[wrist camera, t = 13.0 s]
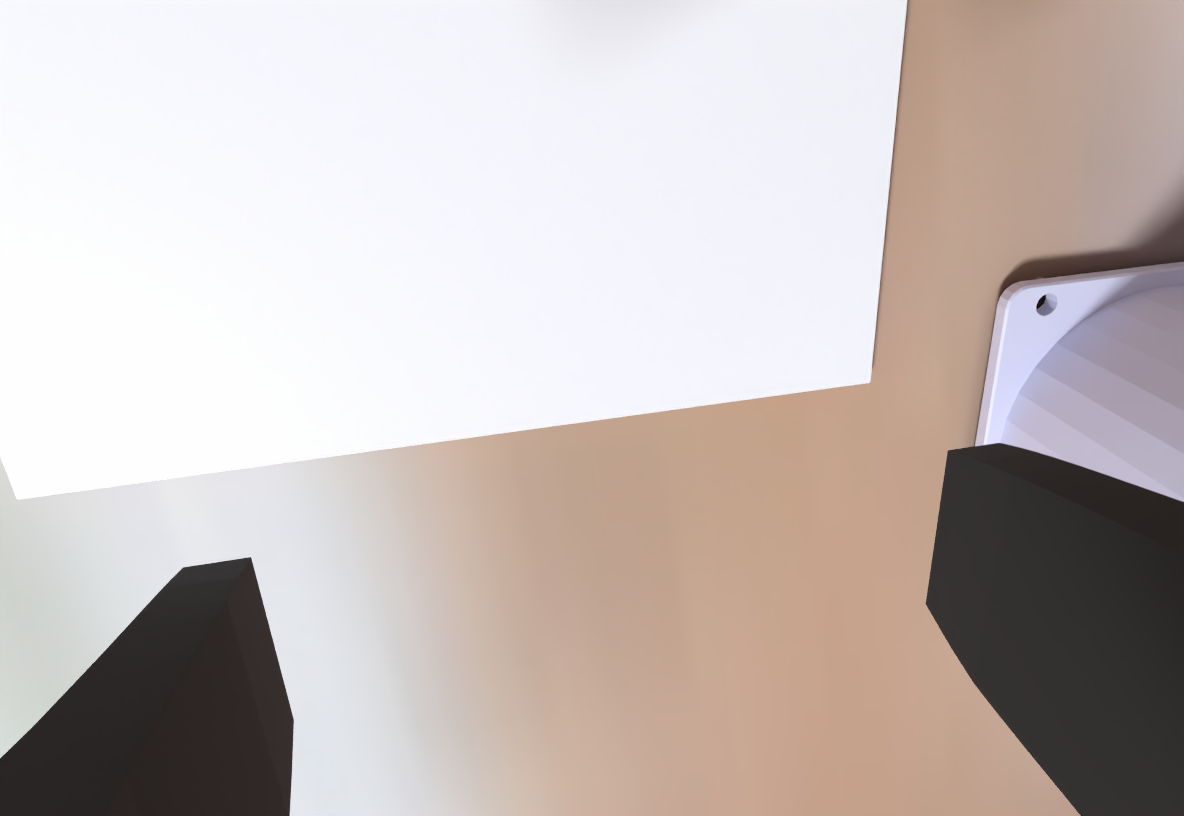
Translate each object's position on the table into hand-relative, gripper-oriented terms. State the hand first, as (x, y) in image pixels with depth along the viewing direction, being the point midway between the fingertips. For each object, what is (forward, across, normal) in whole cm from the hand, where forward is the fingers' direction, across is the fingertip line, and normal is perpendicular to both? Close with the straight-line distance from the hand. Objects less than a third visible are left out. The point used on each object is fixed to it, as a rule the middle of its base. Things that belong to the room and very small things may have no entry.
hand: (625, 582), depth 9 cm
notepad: (+10, +1, -3) cm, 10 cm away
